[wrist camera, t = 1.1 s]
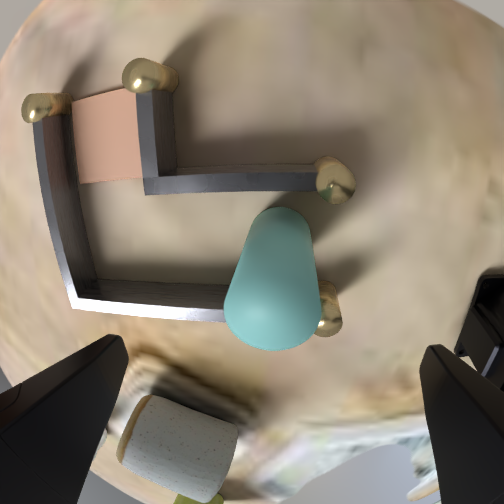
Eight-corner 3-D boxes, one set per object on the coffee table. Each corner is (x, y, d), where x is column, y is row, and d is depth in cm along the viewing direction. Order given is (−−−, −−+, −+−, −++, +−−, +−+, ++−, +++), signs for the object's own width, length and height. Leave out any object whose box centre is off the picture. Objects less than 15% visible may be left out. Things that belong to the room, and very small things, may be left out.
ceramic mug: (148, 372, 22) (110, 449, 15) (245, 409, 23) (229, 493, 16) (136, 427, 27) (110, 486, 20) (210, 455, 27) (194, 516, 20)
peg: (311, 206, 16) (324, 271, 9) (309, 263, 17) (317, 351, 11) (248, 206, 16) (219, 269, 10) (250, 263, 17) (227, 348, 11)
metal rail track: (341, 56, 12) (353, 42, 10) (334, 304, 18) (340, 336, 15) (54, 96, 14) (20, 98, 12) (88, 293, 20) (66, 316, 17)
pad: (148, 83, 14) (145, 83, 13) (155, 175, 16) (153, 176, 16) (74, 102, 14) (71, 102, 14) (82, 182, 16) (80, 184, 16)
